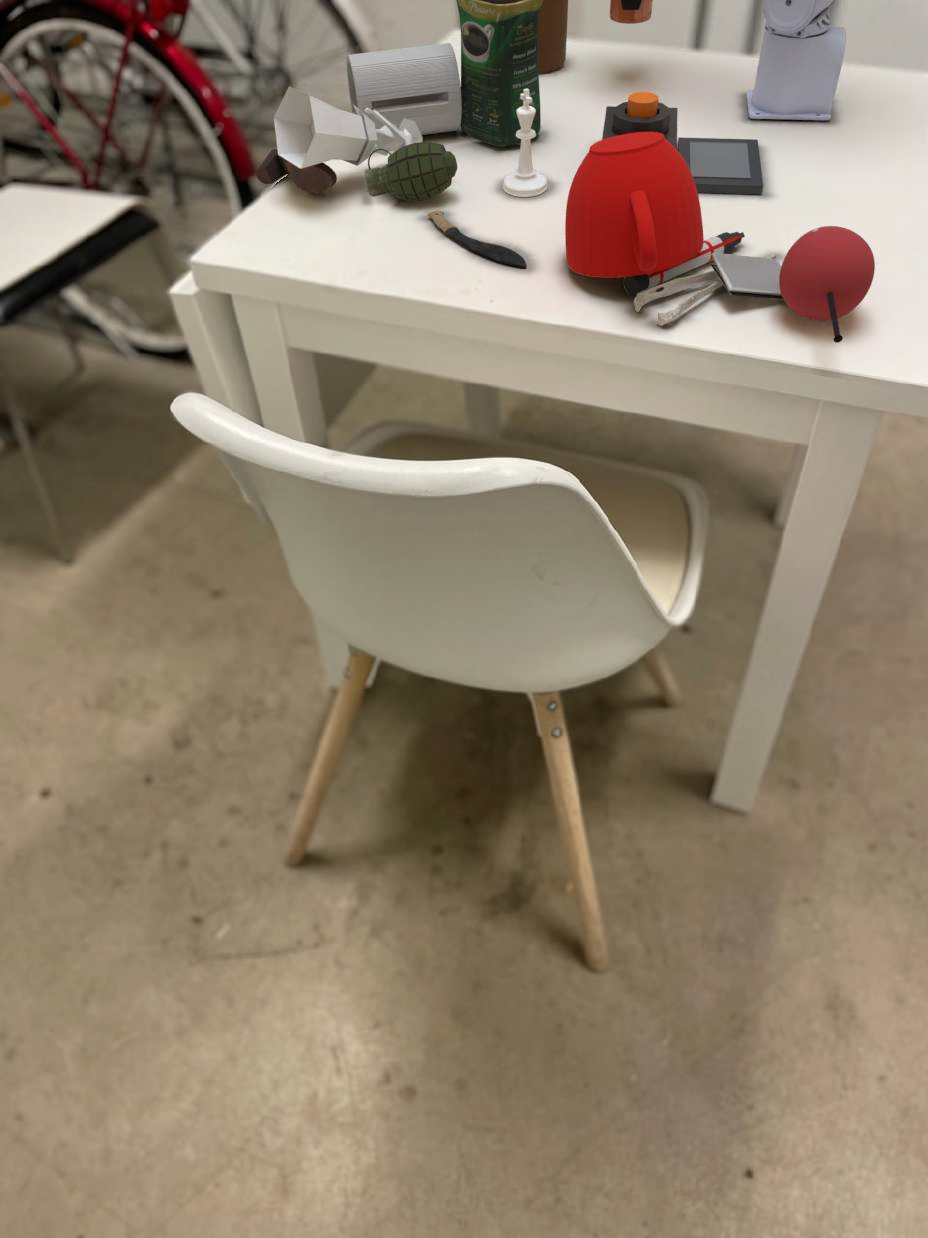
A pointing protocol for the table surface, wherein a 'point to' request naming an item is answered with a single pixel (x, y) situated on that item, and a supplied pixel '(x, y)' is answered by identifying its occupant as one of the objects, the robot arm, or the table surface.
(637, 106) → the button
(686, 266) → the marker
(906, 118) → the table surface
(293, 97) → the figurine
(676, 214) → the ceramic cup
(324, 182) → the heeled mule
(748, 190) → the tray
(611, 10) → the clay cup
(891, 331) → the table surface
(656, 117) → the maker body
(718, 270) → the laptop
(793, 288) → the lollipop
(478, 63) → the coffee jar
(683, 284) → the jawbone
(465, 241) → the machete
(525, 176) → the chess piece
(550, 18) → the mug
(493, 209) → the table surface
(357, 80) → the grey rounded slotted piece
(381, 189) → the grenade
